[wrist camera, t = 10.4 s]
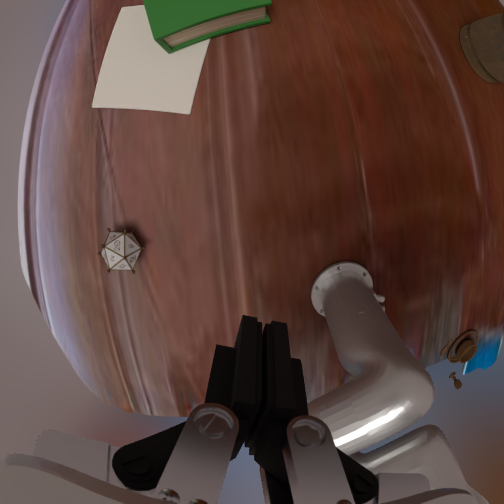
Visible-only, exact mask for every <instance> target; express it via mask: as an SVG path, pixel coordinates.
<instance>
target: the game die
mask: <svg viewBox="0 0 504 504" xmlns="http://www.w3.org/2000/svg"><path fill="white" fill-rule="evenodd" d="M108 231H109V234H108V236H107V239H106V241H105V244H104V245H103V244H102V245H100V246H101V247H103V249H102V251H101V252H98V253H97V254H99V255H101V254H102V256H103V258H104V260H105V262H106V264H107V266H108V268H109V269H108V271H107V274H108V273H110V270H132V273H133V274H135V271H134V270H133V269H134V266H135V264H136V261H137V259H138V257H139V254H140V252H141V250H142V249H145V248H146V247H141V246H140V245H139V243H138V241H137V240H136V238H135V237H134V235H133V233H134V230H132V231H131V233H130V232H126V231H127V230H126V229H125V230H123V232H115V231H110V228H108Z"/></svg>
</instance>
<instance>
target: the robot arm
mask: <svg viewBox="0 0 504 504" xmlns="http://www.w3.org/2000/svg"><path fill="white" fill-rule="evenodd" d="M337 267H338V268H337ZM316 286H317V287H316ZM311 300H312V303H313V306H314V308H315V309H316V311H317V312H318V313H319V314H321V315H322V316H324V317H325V318H326V321H327V324H328V327H329V330H330V333H331V336H332V340H333V343H334V346H335V349H336V353H337V356H338V359H339V361H340V363H341V365H342V366H343V367H344V368H345V369H346V370H347V371H348V372H350V373H351V374H353V375H355V376H356V377H355V378H353V379H351V380H350V381H349V382H347V383H345V384H343V385H342V386H340V387H338V388H336V389H334V390H332V391H330V392H328V393H326V394H324V395H322V396H321V397H319V398H317V399H315V400H313V401H311V402H310V403H308V404H307V398H306V391H305V384H304V377H303V370H302V363H301V360H300V359H296V358H291V355H290V346H289V338H288V329H287V324H286V323H282V322H276V321H272V322H271V324H267V323H266V324H265V327H264V330H263V333H262V322H257V318H256V317H251V316H246V315H243V316H242V320H241V323H240V327H239V331H238V335H237V338H236V342H235V346H234V348H232V347H227V346H222V345H217V344H216V349H215V354H214V359H213V363H212V368H211V373H210V378H209V383H208V388H207V393H206V398H205V403H204V404H201V405H198V406H197V407H195V408H194V409H193V410H192V411H191V413H190V414H189V417H188V419H187V421H185V422H183V423H181V424H179V425H176V426H174V427H171V428H169V429H167V430H164V431H162V432H159V433H157V434H155V435H152V436H150V437H147V438H144V439H142V440H139V441H136V442H134V443H131V444H128V445H125V446H123V447H116V446H111V445H109V443H105V442H100V441H95V440H91V439H86V438H82V437H78V436H74V435H70V434H66V433H63V432H59V431H55V430H47V431H43V432H42V433H41V434H40V435H39V436H38V438H37V440H36V445H35V449H34V454H33V456H31V455H26V454H7V455H4V456H2V457H1V458H0V504H217V501H218V498H219V495H220V491H221V488H222V485H223V481H224V478H225V475H226V471H227V468H228V465H229V462H230V461H231V460H233V459H234V458H236V456H237V454H238V452H239V450H240V449H241V447H242V445H243V443H244V441H245V447H249V455H254V460H255V461H256V462H257V463H258V464H259V465H260V476H261V481H262V488H263V494H264V500H265V504H489V503H488V502H487V501H486V500H485V499H484V497H482V496H481V495H480V494H479V493H477V492H476V491H475V490H473V489H472V488H471V487H470V486H469V485H468V484H467V483H466V481H465V480H464V477H463V474H462V472H461V469H460V467H459V464H458V462H457V459H456V457H455V455H454V452H453V450H452V448H451V445H450V443H449V442H448V440H447V438H446V436H445V434H444V433H443V431H442V430H441V429H440V428H439V427H437V426H435V425H425V426H422V427H419V428H417V429H415V430H413V431H411V432H409V433H407V434H405V435H403V436H401V437H399V438H397V439H395V440H393V441H391V442H389V443H387V444H385V445H383V446H381V447H379V448H377V449H375V450H372V451H370V452H368V453H364V454H363V453H361V452H359V451H360V450H363V449H365V448H367V447H369V446H371V445H374V444H376V443H379V442H381V441H383V440H385V439H387V438H389V437H391V436H392V435H394V434H396V433H398V432H400V431H402V430H404V429H405V428H407V427H409V426H410V425H412V424H413V423H415V422H416V421H417V420H419V419H420V418H421V417H422V416H423V415H424V414H425V413H426V412H427V411H428V410H429V409H430V407H431V405H432V403H433V401H434V398H435V387H434V383H433V381H432V379H431V377H430V375H429V373H428V372H427V371H426V369H425V368H424V367H423V365H422V364H421V363H420V362H419V361H418V360H417V359H416V357H415V356H414V355H413V354H412V353H411V352H410V350H409V349H408V348H407V347H406V345H405V344H404V342H403V341H402V339H401V338H400V336H399V335H398V333H397V331H396V330H395V328H394V326H393V325H392V323H391V322H390V320H389V318H388V317H387V315H386V313H385V306H383V305H380V304H379V302H384V300H385V297H384V296H383V295H376V293H375V292H374V290H373V281H372V278H371V276H370V274H369V272H368V271H367V270H366V269H365V268H364V267H363V266H362V265H360V264H358V263H355V262H348V261H344V262H338V263H335V264H332V265H330V266H329V267H327V268H325V269H324V270H323V271H322V272H321V273H320V274H319V275H318V276H317V277H316V279H315V280H314V283H313V285H312V288H311Z"/></svg>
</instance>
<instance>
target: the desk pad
mask: <svg viewBox="0 0 504 504" xmlns="http://www.w3.org/2000/svg"><path fill="white" fill-rule="evenodd" d="M210 39H211V38H210ZM210 39H207V40H205V41H202V42H199V43H196V44H193V45H191V46H188V47H185V48H183V49H180V50H178V51H175V52H173V53H171V54H168V53H167V52H166V51H165V50H164V49H163V48H162V47H161V46H160V45H159V44H158V43H157V42H156V41H155V40H154V38H153V35H152V31H151V28H150V24H149V21H148V17H147V14H146V10H145V6H144V5H139V6H130V7H122V9H121V11H120V14H119V16H118V19H117V21H116V24H115V26H114V29H113V32H112V35H111V38H110V41H109V44H108V47H107V50H106V53H105V56H104V60H103V63H102V66H101V70H100V74H99V78H98V82H97V86H96V90H95V94H94V99H93V104H92V108H125V109H141V110H154V111H164V112H173V113H182V114H189V115H190V114H191V110H192V105H193V101H194V97H195V93H196V89H197V85H198V81H199V77H200V74H201V70H202V66H203V63H204V59H205V56H206V53H207V49H208V46H209V43H210Z"/></svg>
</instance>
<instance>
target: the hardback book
mask: <svg viewBox="0 0 504 504" xmlns="http://www.w3.org/2000/svg"><path fill="white" fill-rule="evenodd" d="M143 3H144V6H145V10H146V14H147V17H148V21H149V24H150V28H151V31H152V35H153V38H154V40H155V41H156V42H157V43H158V44H159V45H160V46H161V47H162V48H163V49H164V50H165V51H166V52H167V53H168V54H171V53H173V52H175V51H178V50H180V49H183V48H185V47H188V46H191V45H193V44H196V43H199V42H202V41H205V40H207V39H210V38H213V37H217V36H220V35H223V34H226V33H230V32H233V31H237V30H241V29H244V28H248V27H252V26H257V25H261V24H266V23H270V18H269V16H268V14H267V12H266V10H265V9H266V6H272V2H271V0H143Z"/></svg>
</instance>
